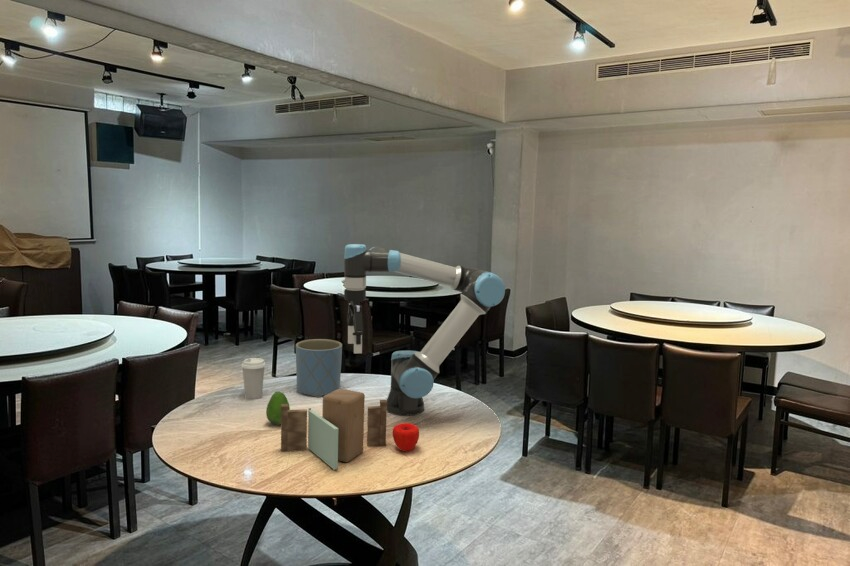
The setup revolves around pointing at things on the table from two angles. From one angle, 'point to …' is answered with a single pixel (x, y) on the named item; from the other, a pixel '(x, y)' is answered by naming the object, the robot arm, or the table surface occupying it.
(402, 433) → the apple
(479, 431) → the table surface
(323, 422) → the door
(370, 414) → the wall frame
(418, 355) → the robot arm
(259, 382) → the coffee cup
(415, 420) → the table surface
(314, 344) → the planter
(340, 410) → the wooden block
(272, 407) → the fruit
